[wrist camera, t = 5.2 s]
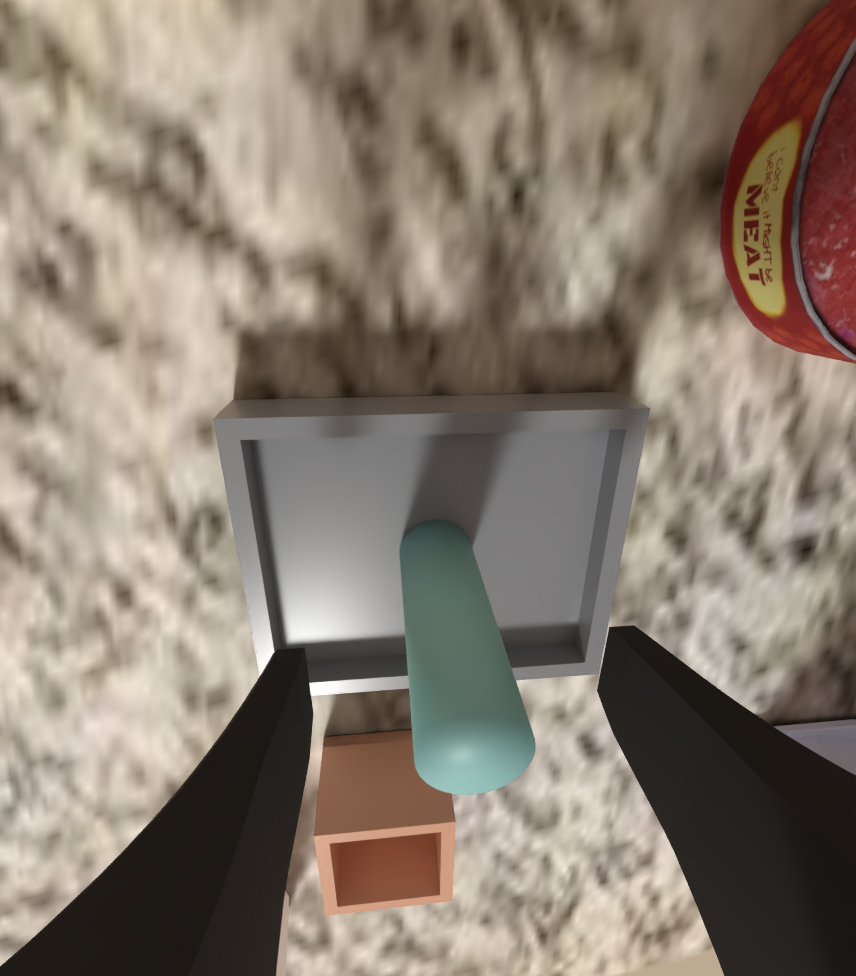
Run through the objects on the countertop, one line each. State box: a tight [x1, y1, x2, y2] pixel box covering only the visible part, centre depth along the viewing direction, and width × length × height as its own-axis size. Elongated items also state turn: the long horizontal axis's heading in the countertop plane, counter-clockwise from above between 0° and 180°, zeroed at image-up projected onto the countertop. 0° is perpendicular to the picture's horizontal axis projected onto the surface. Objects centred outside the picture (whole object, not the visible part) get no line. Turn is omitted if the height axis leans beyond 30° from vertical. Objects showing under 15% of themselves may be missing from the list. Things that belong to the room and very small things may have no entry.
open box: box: [314, 730, 456, 916], centre depth 20 cm, size 5×5×4 cm
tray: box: [213, 392, 650, 696], centre depth 16 cm, size 12×10×2 cm
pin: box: [399, 520, 535, 795], centre depth 13 cm, size 2×2×8 cm
